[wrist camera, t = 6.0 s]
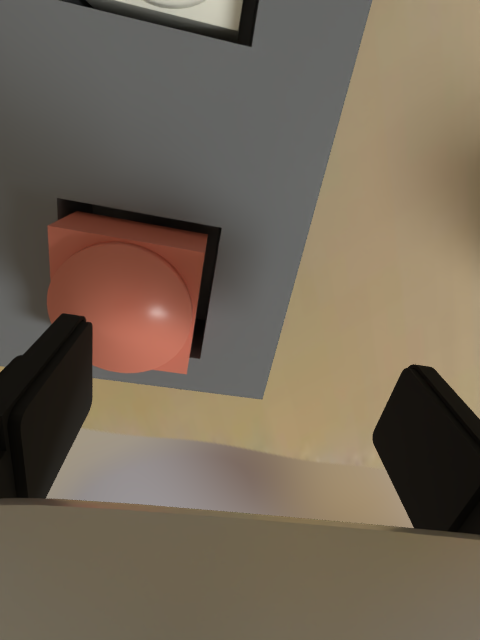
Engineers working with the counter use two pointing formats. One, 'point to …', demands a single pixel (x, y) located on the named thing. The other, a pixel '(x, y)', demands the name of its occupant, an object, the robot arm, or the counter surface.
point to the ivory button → (182, 14)
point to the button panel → (173, 159)
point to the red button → (128, 288)
